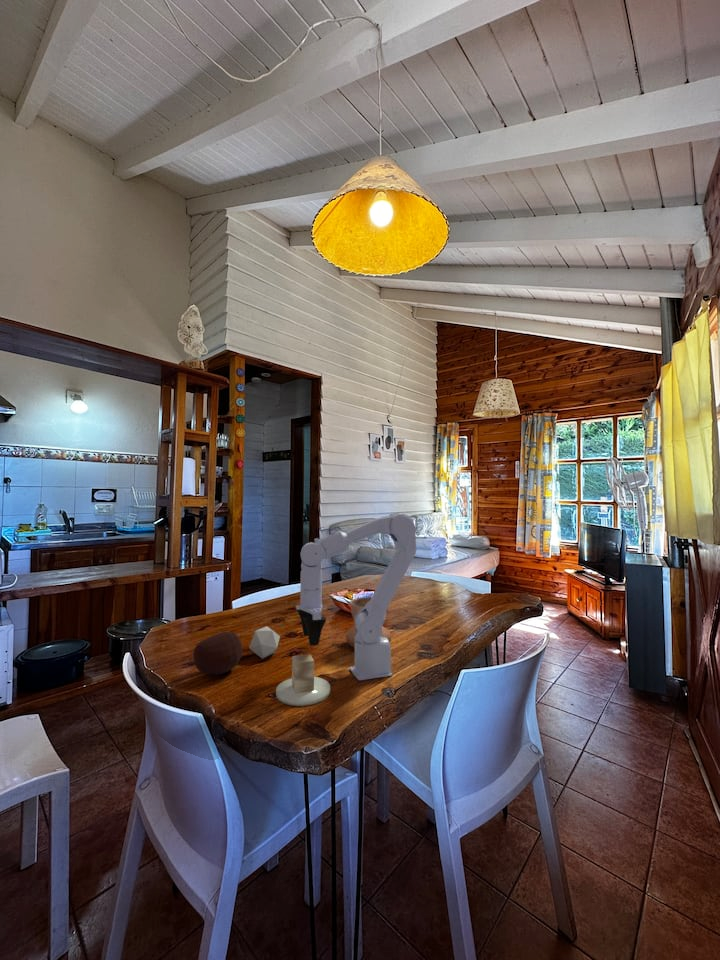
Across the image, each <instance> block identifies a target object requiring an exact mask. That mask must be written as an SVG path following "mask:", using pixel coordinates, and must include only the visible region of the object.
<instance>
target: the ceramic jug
mask: <svg viewBox="0 0 720 960" xmlns="http://www.w3.org/2000/svg"><path fill="white" fill-rule="evenodd" d="M371 598H372V596H371V597H367V596H366V597H364V596H363V597H362V596H361V597H356V598H352V599H351V600H350V601H349V607H350V611H351V612H350V613H351V615H352V619H353V621H354V620H355V617H356V615H357V614H358V613H359V612H360V611H361V610H362V609H363V608H364V607H365V605H366V604H367V603H368V602H369V601H370V600H371ZM357 632H358V630H357V628H356V627H355V625H353V626H352V627H351V628H350V629H348V630H347V632H346V635H345V639H346V642H347V643H348V645H349V646H351V648H354V649H355V636H356V634H357ZM381 637H386V638H387V639H388V641H389V643H390V644H391V640H392V634H391V631H389V629H387V628H386V627H385V626H382V634H381Z"/></svg>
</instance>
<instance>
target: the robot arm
mask: <svg viewBox="0 0 720 960" xmlns="http://www.w3.org/2000/svg"><path fill="white" fill-rule="evenodd" d="M376 534H382V535H388V536H390V537H391V538H392V541H393V544H394V547H395V551H394V553H393V555H392V557H391V559H390V561H389V563H388V565H387V567H386V570H384V573H383V575H382V577H381V579H380V581H379V582H378V584H377V587H376V588H375V590H374V593H373V594H372V596H371V600H370V601H369V602H368V603H367V604H366V605H365V607H364V608H363V609H362V610H361V611H360V612H359V613H358V614H357V615H356V617H355V620H354V619H353V621H354V626H355V627H356V628H357V630H358V632H357V634H356V636H355V648H354V665H353V666H350V667H349V670H350V672H351V673H352V674H353V676H354V677H355V678H356V679H357V680H358V681H367V680H372V679H379V678H385V677H390V676H393V673H392V664H391V663H392V654H391V653H392V649H391V642H390V643H389V641H388V639H387V638H386V637H381V634H382V626H383V625H384V623H385V621H386V614H387V610H388V608H389V606H390V604H391V603H392V602H391V601H392V600H393V598H394V596H395V594H396V593H397V590H398V588H399V587H400V585H401V583H402V581H403V578H404V577H405V574H406V573H407V570H408V569H409V567H410V565H411V563H412V561H413V559H414V557H415V555H416V552H417V540H416V539H417V538H416V534H417V527H416V525H415V523H414V521H413V519H412V518H411V516H409V515H407V514H403V513H402V514H401V513H397V512H394V513H393V512H392V513H390V514H389V515H384V516H381V517H378V518H374V519H373V520H371V521H369V522H366V523H364V524H362V525H360V526H357V527H355V528H353V529H352V530H349V531H347V532H344V531H342V530H338V531H336V530H335V529H334V530H331V531H330V534H328V535H326V536H323V537H321V538H318V537H316V538H314V542H312V541H311V542H307V543H305V544H303V546H302V548H301V551H300V552H299V553H300V559H301V564H300V569H301V571H300V593H299V594H300V596H299V597H300V600H299V603H300V604H297V605H295V610H296V611H297V613H298V615H299V617H300V622H301V627H302V632H303V635H304V637H308V643H309V646H310V647H313V646H319V643H320V639H321V634H322V631H323V627H324V625H325V623H327V617H325V616H322V610H323V609H324V608H323V606H324V604H323V570H322V561H323V560H324V559H325V560H328V559H330V558H332V557H335V556H337V555H339V554H341V553H344V552H346V551H348V550H349V547H350V545H351V544H353V543H355V542H358V541H360V540H363V539H366V538H368V537H371V536H374V535H376ZM383 627H384V626H383Z"/></svg>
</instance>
